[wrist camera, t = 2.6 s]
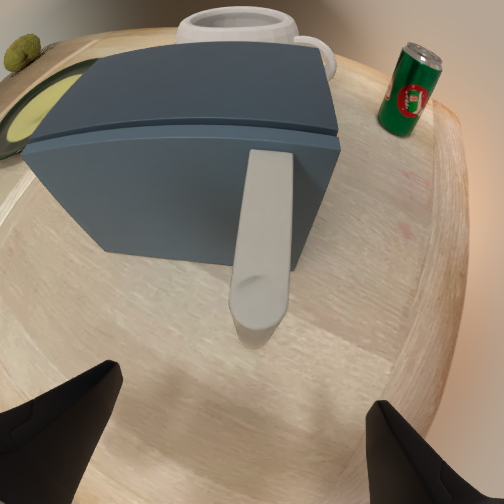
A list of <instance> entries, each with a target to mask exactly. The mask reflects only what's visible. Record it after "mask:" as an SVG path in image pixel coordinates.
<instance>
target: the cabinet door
mask: <svg viewBox="0 0 504 504" xmlns="http://www.w3.org/2000/svg"><path fill="white" fill-rule="evenodd" d="M340 151H341V149H340V143H339V138H338V137H336V136H330V135H324V134H317V133H310V132H303V131H295V130H286V129H276V128H265V127H252V126H234V125H160V126H143V127H130V128H119V129H110V130H102V131H94V132H87V133H81V134H75V135H69V136H63V137H58V138H53V139H48V140H44V141H39V142H35V143H31V144H27V145H26V147H25V148H24V150H23V151H22V153H21V154H20V156H21V157H22V158H23V160H24V161H25V162H26V164H27V165H28V166H29V167H30V169H31V170H32V171H33V172H34V174H35V175H36V176H37V177H38V179H39V180H40V181H41V182H42V184H43V185H44V186H45V187H46V188H47V190H48V191H49V192H50V193H51V194H52V195H53V197H54V198H55V199H56V200H57V201H58V202H59V203H60V205H61V206H62V207H63V208H64V209H65V210H66V211H67V212H68V213H69V215H70V216H71V217H72V218H73V219H74V220H75V221H76V222H77V223H78V224H79V225H80V226H81V227H82V228H83V229H84V231H85V232H86V233H87V234H88V235H89V236H90V237H91V238H92V239H93V240H94V241H95V242H96V243H97V244H98V245H99V246H100V247H101V248H102V249H103V250H104V251H106V252H114V253H123V254H131V255H140V256H149V257H158V258H167V259H176V260H185V261H194V262H204V263H214V264H223V265H233V270H232V278H231V285H230V293H229V308H230V311H231V315H232V318H233V321H234V324H235V327H236V331H237V334H238V337H239V340H240V341H241V343H242V344H243V345H244V346H246V347H248V348H251V349H257V348H260V347H262V346H264V345H265V344H266V343H267V341H268V340H269V338H270V337H271V336H272V334H273V333H274V331H275V330H276V328H277V327H278V325H279V324H280V322H281V321H282V319H283V317H284V316H285V314H286V312H287V308H288V300H289V284H290V271H294V268H295V266H296V264H297V261H298V259H299V257H300V254H301V252H302V249H303V247H304V245H305V242H306V240H307V237H308V235H309V232H310V230H311V227H312V225H313V222H314V220H315V217H316V215H317V212H318V210H319V207H320V205H321V202H322V200H323V197H324V194H325V192H326V189H327V187H328V184H329V181H330V179H331V176H332V173H333V170H334V168H335V165H336V162H337V160H338V157H339V154H340Z"/></svg>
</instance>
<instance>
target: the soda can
mask: <svg viewBox="0 0 504 504" xmlns="http://www.w3.org/2000/svg"><path fill="white" fill-rule="evenodd" d="M441 64H442V60H441V59H440V58H439V57H438V56H437V55H435V54H434V53H433V52H431V51H429V50H428V49H426V48H424V47H422V46H420V45H417V44H415V43H410V42H408V43H407V46H405V47H403V48H402V50H401V53H400V56H399V59H398V62H397V64H396V67H395V70H394V73H393V76H392V78H391V81H390V84H389V86H388V89H387V91H386V94H385V97H384V99H383V102H382V104H381V107H380V109H379V112H378V118H379V121H380V123H381V124H382V126H383V127H384V128H385V129H387V130H388V131H390V132H391V133H393V134H396V135H399V136H407V135H410V134H411V133H412V131H413V130H414V128H415V126H416V124H417V122H418V120H419V118H420V116H421V114H422V112H423V110H424V108H425V106H426V104H427V102H428V100H429V98H430V96H431V94H432V92H433V90H434V88H435V86H436V84H437V81H438V79H439V77H440V75H441V72H442V66H441Z"/></svg>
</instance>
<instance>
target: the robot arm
mask: <svg viewBox="0 0 504 504" xmlns="http://www.w3.org/2000/svg"><path fill="white" fill-rule="evenodd" d="M122 383H123V376H122V372H121V369H120V365H119V364H118V363H117V362H115V361H112V360H106V361H104V362H102V363H100V364H99V365H97V366H95V367H93V368H91V369H89V370H87V371H86V372H84V373H82V374H80V375H78V376H76V377H74V378H72V379H71V380H69V381H67V382H65V383H63V384H61V385H59V386H57V387H55V388H53V389H52V390H50V391H48V392H46V393H44V394H42V395H40V396H38V397H36V398H35V399H32V400H30V401H28V402H26V403H24V404H22V405H20V406H18V407H15V408H13V409H10V410H8V411H5V412H2V413H0V504H71V503H72V500H73V498H74V495H75V493H76V490H77V488H78V486H79V483H80V481H81V479H82V476H83V474H84V472H85V470H86V467H87V465H88V463H89V461H90V459H91V456H92V454H93V452H94V450H95V448H96V446H97V443H98V441H99V439H100V437H101V435H102V433H103V431H104V429H105V427H106V425H107V423H108V421H109V418H110V416H111V414H112V411H113V408H114V405H115V402H116V400H117V397H118V394H119V391H120V389H121V386H122ZM366 458H367V468H368V478H369V490H370V504H504V499H501V498H490V497H487V496H485V495H483V494H481V493H480V492H479V491H478V490H476V489H475V488H474V487H473V486H471V485H470V484H469V483H468V482H466V481H465V480H464V479H463V478H462V477H460V476H459V475H458V474H457V473H456V472H455V471H454V470H453V469H452V468H451V467H450V466H449V465H448V464H447V463H446V462H445V461H444V460H443V459H442V458H441V457H440V456H439V455H438V454H437V453H436V452H435V450H434V449H433V448H432V447H431V446H430V445H429V444H428V443H427V442H426V441H425V440H424V439H423V438H422V437H421V436H420V435H419V434H418V433H417V432H416V430H415V429H414V428H413V427H412V426H411V425H410V424H409V423H408V422H407V421H406V420H405V419H404V418H403V417H402V416H401V415H400V414H399V412H398V411H397V410H396V409H395V408H394V407H393V406H392V405H391V404H390V403H389V402H388V401H387V400H377V401H375V402H374V404H373V405H372V407H371V408H370V410H369V411H368V413H367V415H366Z"/></svg>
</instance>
